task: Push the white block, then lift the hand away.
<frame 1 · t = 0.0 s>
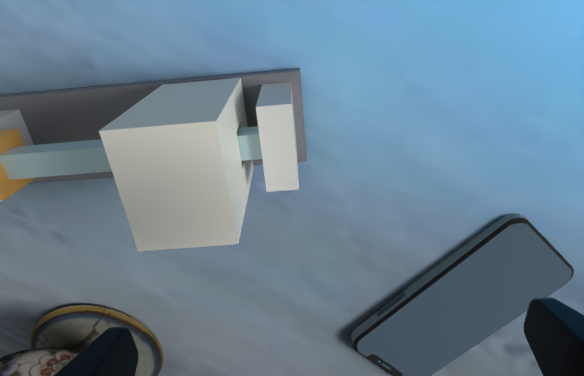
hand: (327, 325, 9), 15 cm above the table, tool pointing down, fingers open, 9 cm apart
smartphone: (450, 296, 29), on the table
apothecary jar: (100, 348, 30), on the table
white block: (195, 154, 17), point 5 cm above the table, slide at 0.0 cm
grey piece: (144, 127, 22), on the table
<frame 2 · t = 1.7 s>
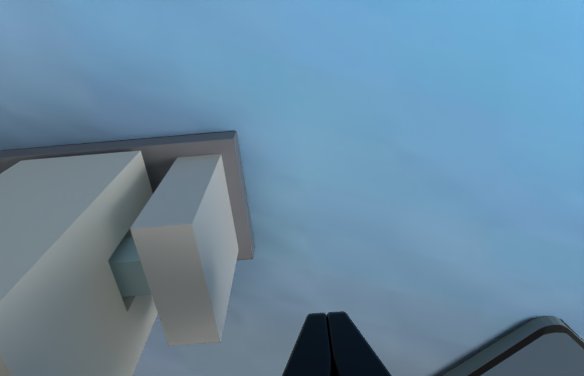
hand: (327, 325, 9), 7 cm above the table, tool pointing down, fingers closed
white block: (46, 291, 10), point 5 cm above the table, slide at 0.0 cm
grey piece: (16, 211, 15), on the table
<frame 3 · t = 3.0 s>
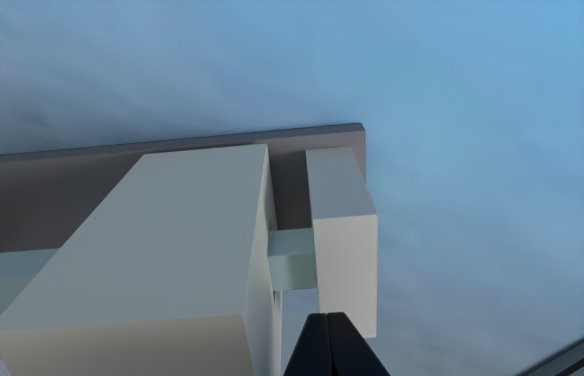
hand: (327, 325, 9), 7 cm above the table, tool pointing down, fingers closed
white block: (196, 286, 10), point 5 cm above the table, slide at 0.2 cm, touching gripper
grey piece: (126, 207, 15), on the table
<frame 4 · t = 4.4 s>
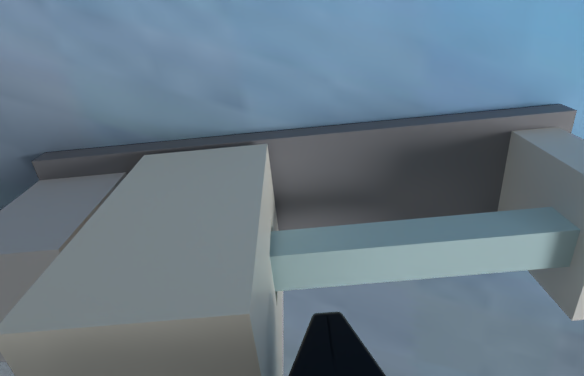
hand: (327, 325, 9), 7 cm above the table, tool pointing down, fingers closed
white block: (198, 286, 10), point 5 cm above the table, slide at 7.1 cm, touching grey piece, gripper
grey piece: (304, 192, 14), on the table
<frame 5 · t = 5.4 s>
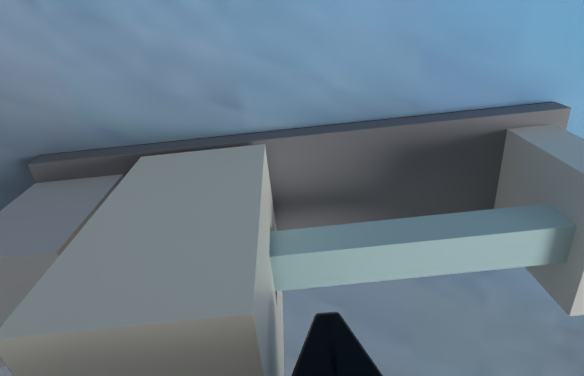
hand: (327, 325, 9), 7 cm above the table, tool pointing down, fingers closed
white block: (198, 288, 10), point 5 cm above the table, slide at 7.1 cm, touching grey piece, gripper
grey piece: (301, 192, 14), on the table
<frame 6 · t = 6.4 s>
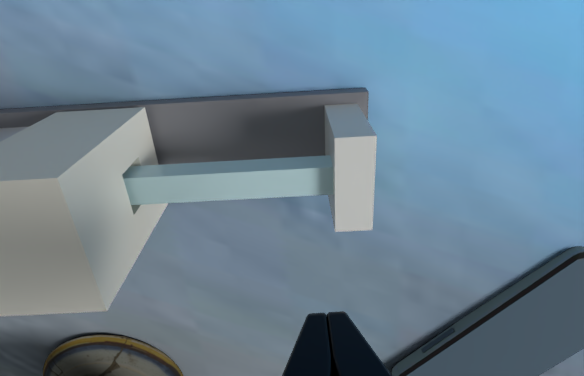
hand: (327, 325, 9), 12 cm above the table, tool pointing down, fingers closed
smartphone: (500, 330, 26), on the table
white block: (78, 197, 15), point 5 cm above the table, slide at 7.1 cm, touching grey piece
grey piece: (184, 148, 19), on the table
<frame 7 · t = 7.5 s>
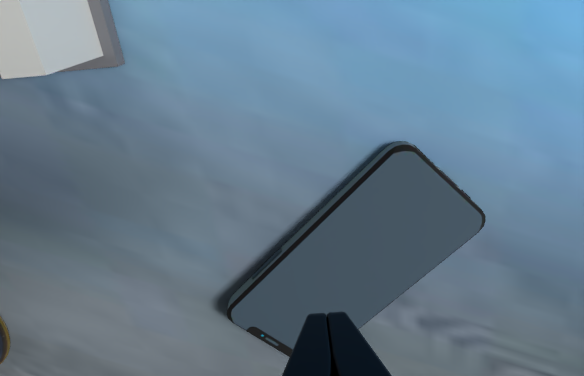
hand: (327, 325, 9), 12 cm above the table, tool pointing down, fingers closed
smartphone: (346, 254, 23), on the table
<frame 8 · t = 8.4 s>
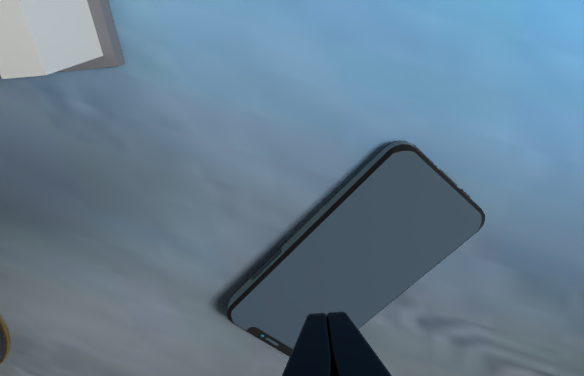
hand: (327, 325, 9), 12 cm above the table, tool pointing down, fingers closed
smartphone: (345, 254, 23), on the table
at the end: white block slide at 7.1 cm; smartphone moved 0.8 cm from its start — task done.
